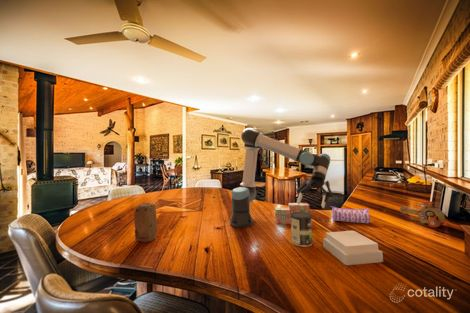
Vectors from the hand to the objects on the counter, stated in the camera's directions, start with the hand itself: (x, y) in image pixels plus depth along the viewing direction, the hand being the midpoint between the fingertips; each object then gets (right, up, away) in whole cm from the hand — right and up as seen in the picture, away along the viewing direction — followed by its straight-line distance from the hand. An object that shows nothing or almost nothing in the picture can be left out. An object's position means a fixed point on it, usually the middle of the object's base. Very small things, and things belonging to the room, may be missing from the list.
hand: (309, 205), depth 103 cm
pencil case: (+34, -16, +18) cm, 42 cm away
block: (-91, -20, +2) cm, 94 cm away
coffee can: (-7, -17, -8) cm, 20 cm away
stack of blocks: (-3, -17, +21) cm, 27 cm away
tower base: (+10, -16, -20) cm, 28 cm away
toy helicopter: (+74, -14, +12) cm, 77 cm away
